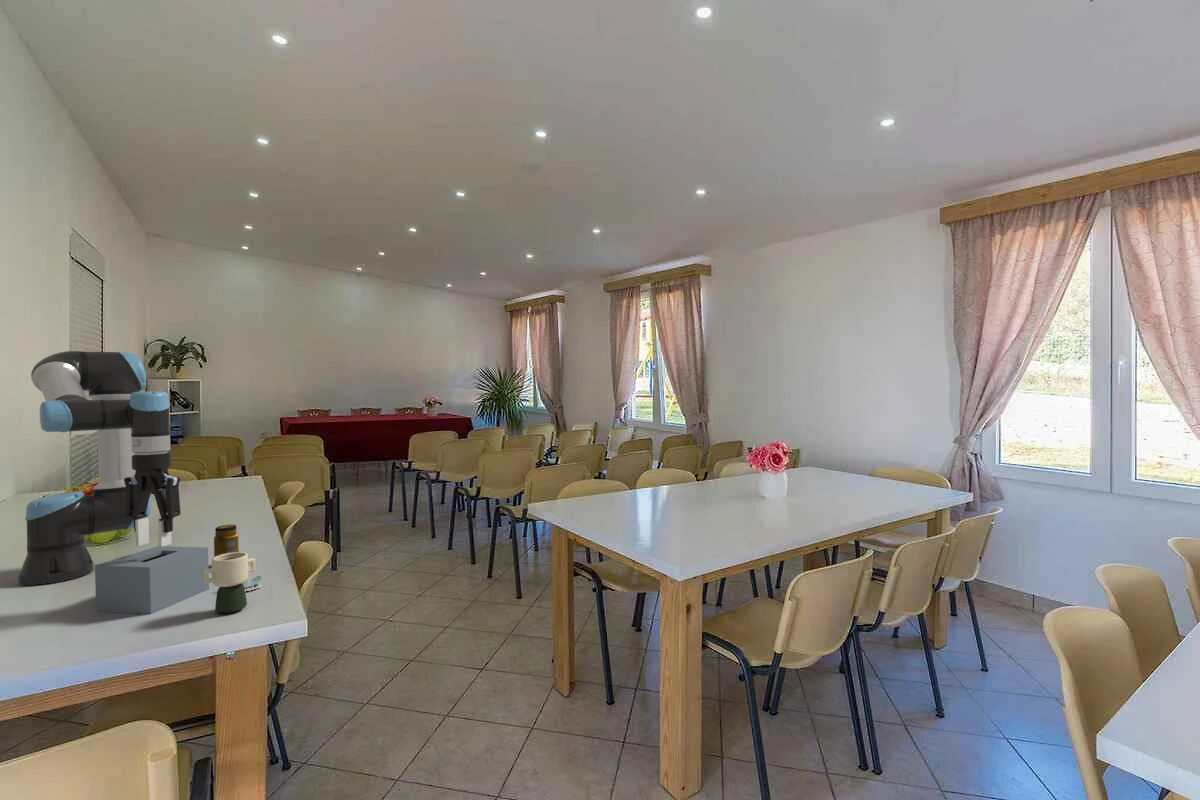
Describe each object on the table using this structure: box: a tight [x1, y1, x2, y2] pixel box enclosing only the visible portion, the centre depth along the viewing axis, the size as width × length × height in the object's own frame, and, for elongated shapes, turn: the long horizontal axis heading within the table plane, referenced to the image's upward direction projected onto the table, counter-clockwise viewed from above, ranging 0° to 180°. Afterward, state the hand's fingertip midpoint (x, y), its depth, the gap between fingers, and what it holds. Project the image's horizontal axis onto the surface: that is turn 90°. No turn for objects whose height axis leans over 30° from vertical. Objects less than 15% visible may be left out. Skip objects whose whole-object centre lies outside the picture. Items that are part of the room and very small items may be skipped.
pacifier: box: [242, 565, 263, 593], centre depth 143 cm, size 7×6×6 cm
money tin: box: [94, 545, 210, 615], centre depth 136 cm, size 15×16×11 cm
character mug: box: [204, 551, 256, 613], centre depth 129 cm, size 11×7×13 cm, turn 146°
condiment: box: [213, 524, 240, 558], centre depth 162 cm, size 7×8×12 cm
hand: (153, 544), depth 136 cm, fingers open, 6 cm apart
